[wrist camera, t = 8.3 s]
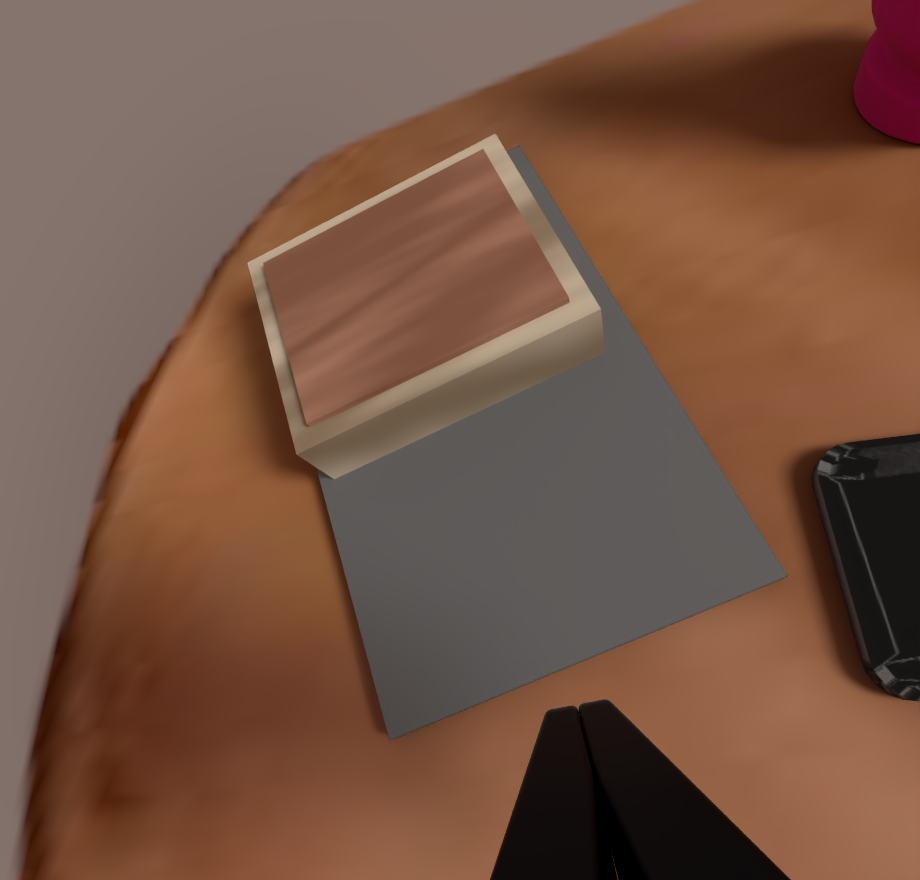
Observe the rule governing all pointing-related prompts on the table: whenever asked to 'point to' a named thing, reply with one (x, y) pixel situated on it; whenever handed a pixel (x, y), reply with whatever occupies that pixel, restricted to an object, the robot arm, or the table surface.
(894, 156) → the table surface
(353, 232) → the small wooden box
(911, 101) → the pepper mill
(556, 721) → the robot arm
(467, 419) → the rubber mat
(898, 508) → the phone
